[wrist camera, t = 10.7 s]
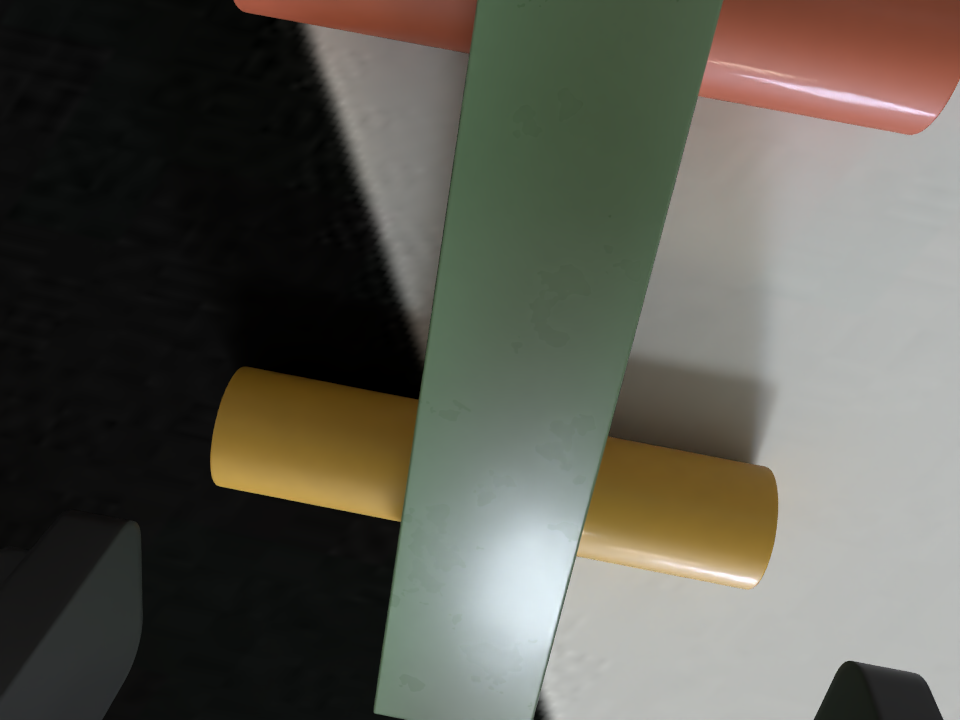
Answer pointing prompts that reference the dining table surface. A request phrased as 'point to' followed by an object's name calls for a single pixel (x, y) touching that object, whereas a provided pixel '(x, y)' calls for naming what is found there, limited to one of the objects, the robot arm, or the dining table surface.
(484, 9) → the green bar
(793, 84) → the terracotta rod
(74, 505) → the dining table surface
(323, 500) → the ochre rod
